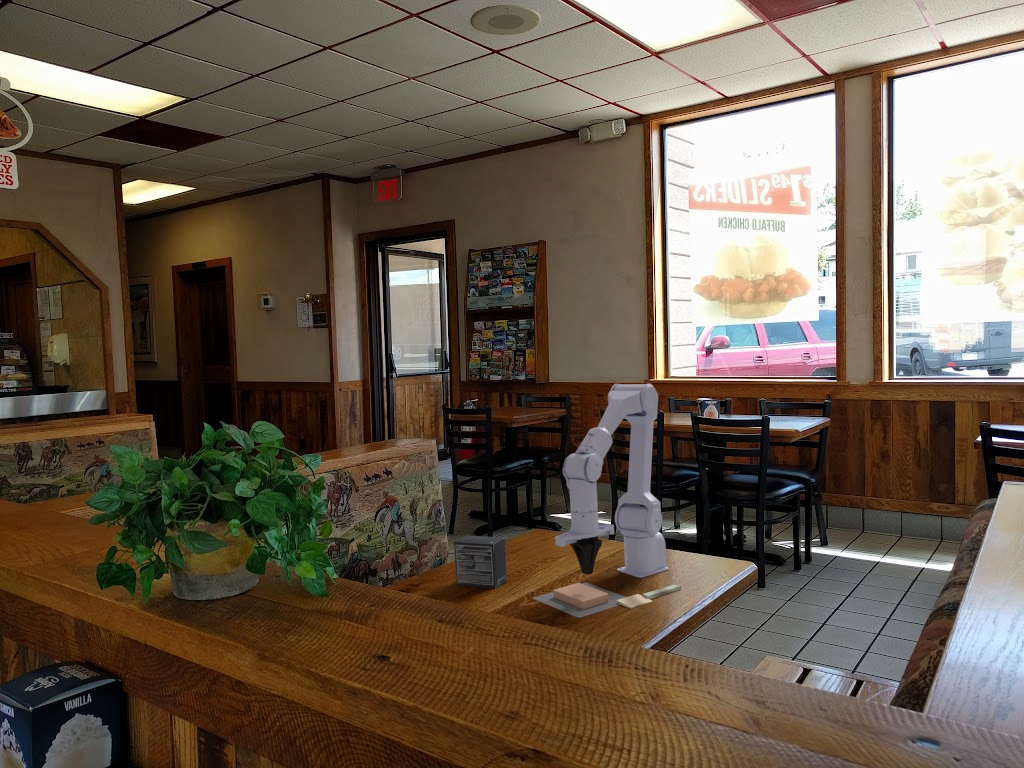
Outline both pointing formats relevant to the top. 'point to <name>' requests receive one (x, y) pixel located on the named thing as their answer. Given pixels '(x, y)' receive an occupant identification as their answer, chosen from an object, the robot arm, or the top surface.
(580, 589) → the block
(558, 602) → the mat
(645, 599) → the turner
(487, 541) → the small box
